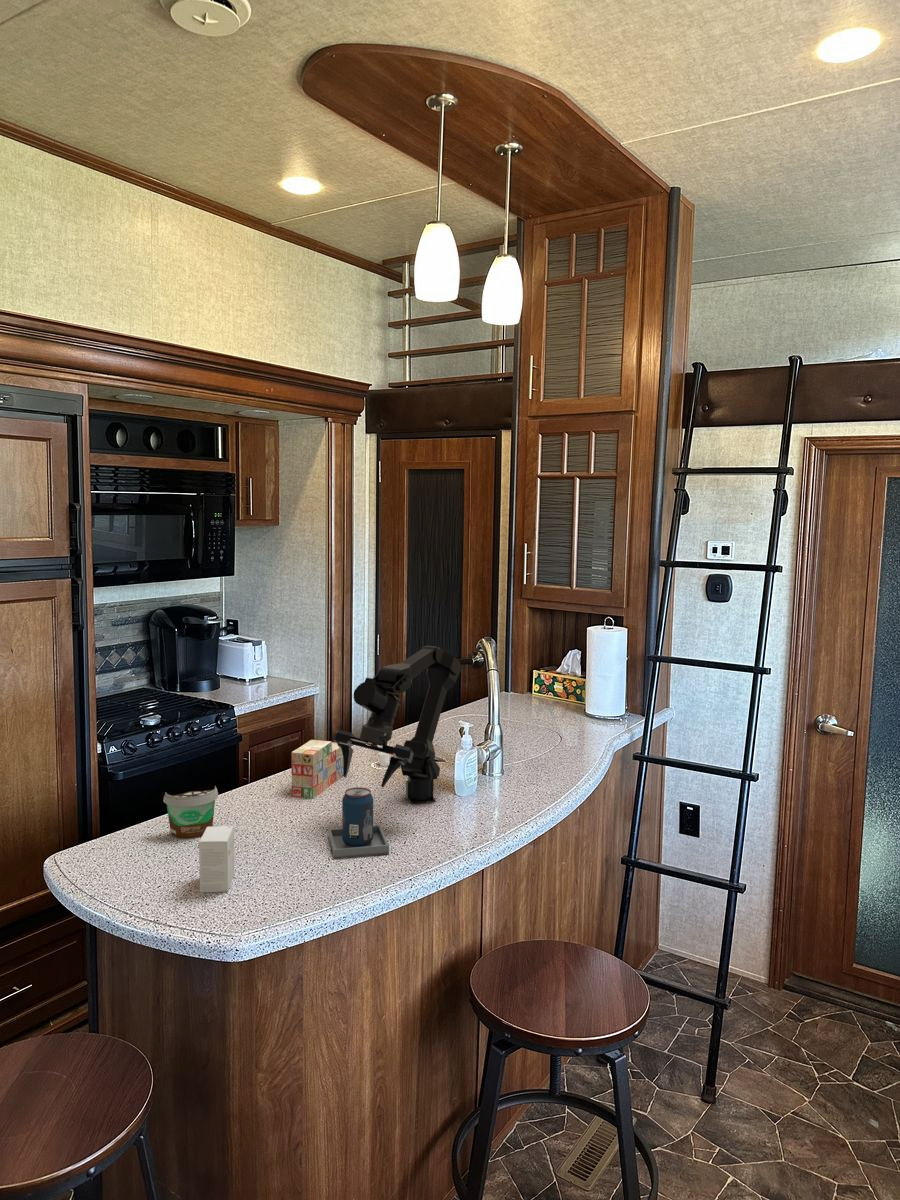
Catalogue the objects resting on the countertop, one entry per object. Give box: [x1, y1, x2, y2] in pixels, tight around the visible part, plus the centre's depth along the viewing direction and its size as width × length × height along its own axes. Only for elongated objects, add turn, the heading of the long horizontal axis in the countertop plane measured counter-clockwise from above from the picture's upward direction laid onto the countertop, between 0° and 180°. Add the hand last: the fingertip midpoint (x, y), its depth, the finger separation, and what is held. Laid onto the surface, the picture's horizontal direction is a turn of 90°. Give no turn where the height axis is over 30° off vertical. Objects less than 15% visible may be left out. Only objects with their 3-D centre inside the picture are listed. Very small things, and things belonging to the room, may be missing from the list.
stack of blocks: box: [290, 739, 344, 800], centre depth 227 cm, size 21×6×12 cm, turn 164°
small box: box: [198, 825, 236, 893], centre depth 166 cm, size 8×6×10 cm
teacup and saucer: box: [370, 752, 390, 771], centre depth 245 cm, size 9×8×4 cm
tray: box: [327, 824, 390, 860], centre depth 187 cm, size 12×12×2 cm
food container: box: [163, 785, 219, 840], centre depth 191 cm, size 12×6×10 cm, turn 117°
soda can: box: [341, 786, 374, 848], centre depth 186 cm, size 7×7×12 cm
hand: (363, 782), depth 194 cm, fingers open, 9 cm apart
